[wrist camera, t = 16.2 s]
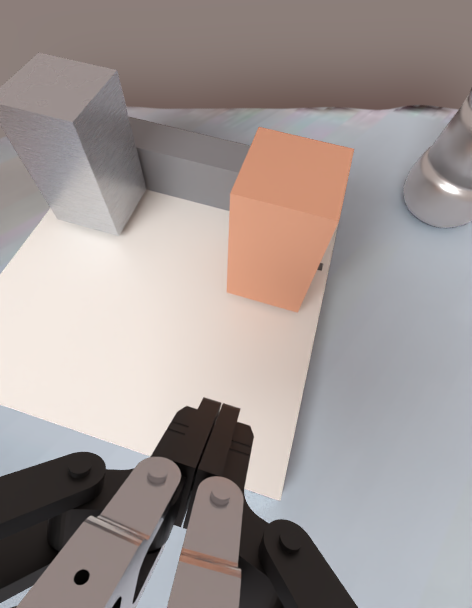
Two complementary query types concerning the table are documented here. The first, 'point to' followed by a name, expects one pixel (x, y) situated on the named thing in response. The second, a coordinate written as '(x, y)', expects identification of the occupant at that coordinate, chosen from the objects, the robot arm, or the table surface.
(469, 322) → the table surface
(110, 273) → the plate
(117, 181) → the brushed metal pillar
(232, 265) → the tall salmon pillar
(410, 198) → the plastic bottle
